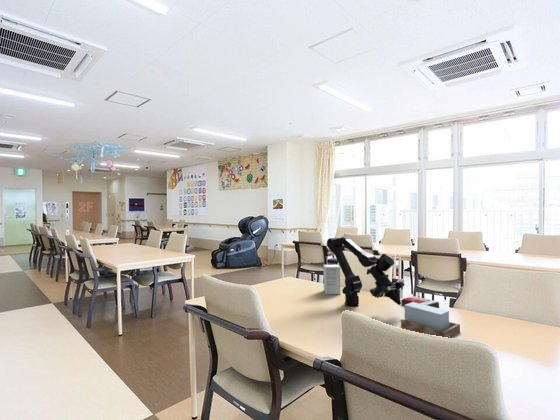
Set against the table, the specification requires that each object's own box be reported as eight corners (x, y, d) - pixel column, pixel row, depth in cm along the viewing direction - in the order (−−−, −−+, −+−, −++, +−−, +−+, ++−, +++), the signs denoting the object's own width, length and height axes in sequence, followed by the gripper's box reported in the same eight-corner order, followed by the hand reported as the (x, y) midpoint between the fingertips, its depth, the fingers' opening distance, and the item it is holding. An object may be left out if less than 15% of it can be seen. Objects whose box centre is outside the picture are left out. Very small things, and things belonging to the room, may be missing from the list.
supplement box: (340, 294, 186) (340, 267, 186) (325, 294, 186) (325, 267, 186) (337, 290, 196) (337, 264, 196) (323, 290, 196) (323, 264, 196)
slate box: (404, 324, 137) (404, 304, 137) (413, 321, 141) (412, 301, 141) (441, 336, 124) (440, 314, 124) (449, 332, 129) (448, 310, 129)
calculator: (413, 295, 171) (439, 300, 158) (414, 303, 171) (439, 309, 158) (400, 298, 166) (425, 304, 153) (401, 306, 166) (426, 313, 153)
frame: (401, 326, 135) (401, 319, 135) (417, 319, 143) (417, 312, 143) (443, 340, 120) (443, 332, 120) (460, 331, 129) (459, 324, 129)
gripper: (381, 282, 162) (400, 309, 153) (358, 288, 151) (377, 317, 142) (394, 270, 155) (415, 297, 147) (372, 275, 144) (392, 305, 136)
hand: (400, 304), depth 143 cm, fingers closed
